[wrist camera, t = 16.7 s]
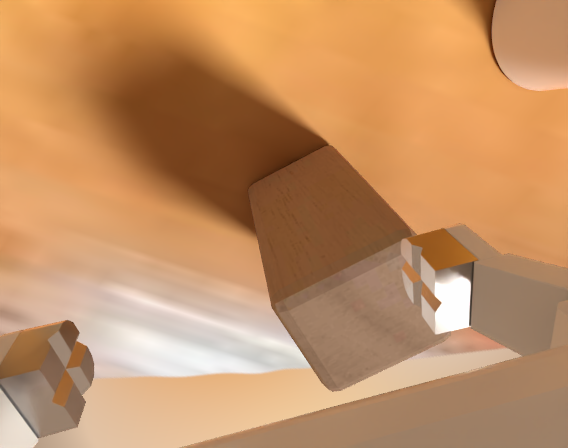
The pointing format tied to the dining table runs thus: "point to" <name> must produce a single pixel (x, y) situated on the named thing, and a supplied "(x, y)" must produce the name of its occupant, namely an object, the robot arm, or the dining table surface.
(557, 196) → the dining table surface
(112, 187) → the dining table surface
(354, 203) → the block
